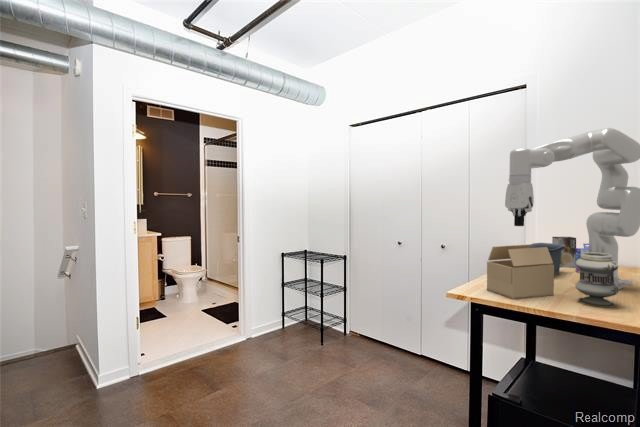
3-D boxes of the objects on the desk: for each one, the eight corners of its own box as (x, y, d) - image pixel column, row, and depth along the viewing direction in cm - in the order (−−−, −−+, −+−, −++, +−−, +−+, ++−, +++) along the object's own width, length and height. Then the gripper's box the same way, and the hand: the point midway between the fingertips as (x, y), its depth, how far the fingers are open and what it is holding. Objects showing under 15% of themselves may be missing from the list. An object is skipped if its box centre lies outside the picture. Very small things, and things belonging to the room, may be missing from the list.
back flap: (524, 257, 145) (524, 257, 146) (530, 244, 142) (529, 244, 143) (488, 260, 141) (487, 259, 141) (493, 247, 138) (492, 246, 138)
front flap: (546, 247, 135) (547, 246, 135) (552, 263, 133) (553, 263, 132) (507, 249, 131) (508, 249, 130) (513, 266, 128) (514, 266, 128)
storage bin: (552, 280, 156) (552, 249, 156) (515, 274, 169) (516, 246, 168) (566, 273, 170) (567, 244, 169) (532, 268, 182) (532, 241, 181)
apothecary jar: (573, 296, 131) (573, 250, 130) (613, 300, 124) (614, 252, 124) (577, 305, 120) (578, 255, 119) (622, 310, 114) (623, 257, 113)
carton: (525, 286, 146) (525, 258, 146) (554, 295, 133) (554, 264, 132) (486, 289, 142) (486, 261, 141) (512, 299, 128) (512, 268, 128)
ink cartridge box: (596, 271, 171) (597, 243, 171) (603, 274, 166) (603, 244, 165) (574, 271, 173) (574, 243, 173) (580, 273, 168) (580, 244, 167)
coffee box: (569, 265, 188) (570, 236, 187) (576, 267, 182) (577, 237, 181) (551, 264, 190) (552, 236, 189) (557, 267, 183) (558, 237, 183)
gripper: (498, 181, 142) (497, 224, 142) (527, 179, 127) (526, 227, 128) (513, 181, 143) (512, 224, 144) (544, 179, 129) (542, 227, 130)
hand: (519, 225), depth 136 cm, fingers closed
